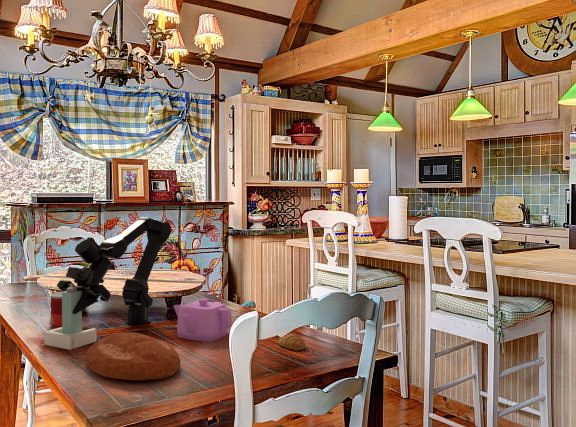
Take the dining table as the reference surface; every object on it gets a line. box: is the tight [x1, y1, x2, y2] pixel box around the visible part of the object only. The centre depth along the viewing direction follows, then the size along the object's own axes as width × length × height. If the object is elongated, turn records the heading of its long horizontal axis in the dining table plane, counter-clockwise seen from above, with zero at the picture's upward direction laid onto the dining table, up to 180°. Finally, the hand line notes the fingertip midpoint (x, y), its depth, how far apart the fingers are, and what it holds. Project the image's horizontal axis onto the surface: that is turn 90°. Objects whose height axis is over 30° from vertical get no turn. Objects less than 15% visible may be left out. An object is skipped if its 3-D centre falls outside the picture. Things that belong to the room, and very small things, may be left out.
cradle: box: [44, 327, 97, 350], centre depth 166 cm, size 10×11×4 cm
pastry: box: [277, 332, 306, 351], centre depth 165 cm, size 9×7×4 cm
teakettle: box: [173, 298, 233, 343], centre depth 176 cm, size 17×17×12 cm
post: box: [62, 287, 83, 335], centre depth 166 cm, size 4×4×14 cm
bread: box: [85, 332, 181, 382], centre depth 144 cm, size 23×32×9 cm
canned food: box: [50, 292, 62, 329], centre depth 187 cm, size 8×8×11 cm
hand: (68, 312), depth 165 cm, fingers closed on post, 4 cm apart
